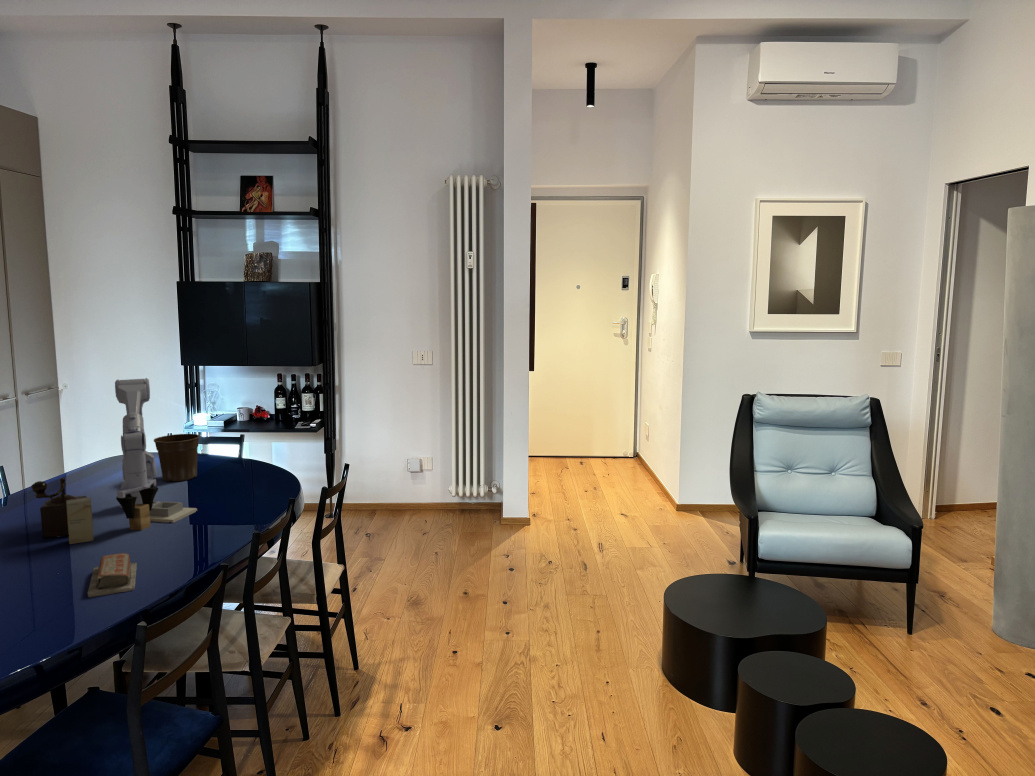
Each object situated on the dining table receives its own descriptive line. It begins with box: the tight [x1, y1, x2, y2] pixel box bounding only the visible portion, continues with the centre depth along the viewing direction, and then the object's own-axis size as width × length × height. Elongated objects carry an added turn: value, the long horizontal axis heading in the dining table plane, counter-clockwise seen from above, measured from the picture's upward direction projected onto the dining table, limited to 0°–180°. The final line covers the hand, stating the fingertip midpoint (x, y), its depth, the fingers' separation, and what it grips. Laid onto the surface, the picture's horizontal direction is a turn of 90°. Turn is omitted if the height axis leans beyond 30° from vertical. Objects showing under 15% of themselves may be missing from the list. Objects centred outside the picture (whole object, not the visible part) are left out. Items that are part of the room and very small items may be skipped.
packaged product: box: [87, 552, 138, 598], centre depth 178 cm, size 18×5×10 cm
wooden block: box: [128, 504, 151, 531], centre depth 218 cm, size 4×4×7 cm
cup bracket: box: [149, 500, 198, 524], centre depth 230 cm, size 14×12×5 cm
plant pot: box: [153, 433, 201, 482], centre depth 275 cm, size 16×16×16 cm
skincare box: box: [66, 497, 95, 545], centre depth 206 cm, size 6×4×12 cm
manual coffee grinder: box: [30, 477, 88, 538], centre depth 212 cm, size 16×11×18 cm
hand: (139, 514), depth 218 cm, fingers open, 7 cm apart
